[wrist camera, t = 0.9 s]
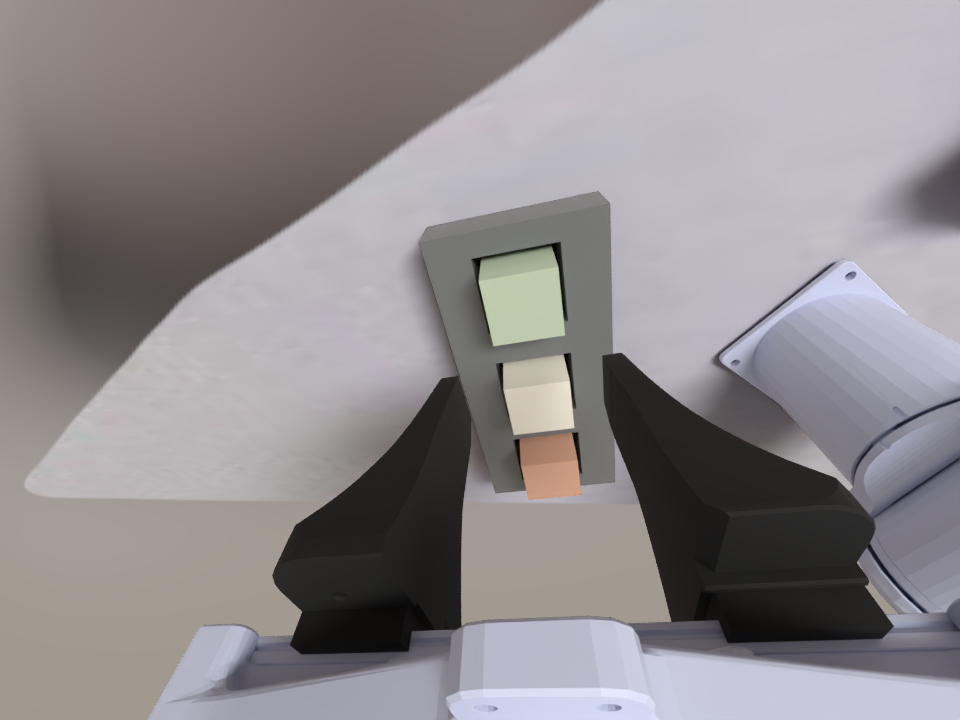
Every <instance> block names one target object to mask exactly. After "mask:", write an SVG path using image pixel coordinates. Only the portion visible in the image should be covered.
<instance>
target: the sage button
mask: <svg viewBox="0 0 960 720" xmlns="http://www.w3.org/2000/svg"><path fill="white" fill-rule="evenodd" d="M479 285H480V290H481V294H482V298H483V303H484V307H485V311H486V316H487V320H488V325H489V329H490V333H491V338H492V342H493V346H499V345H506V344H512V343H519V342H525V341H532V340H538V339H545V338H551V337H558V336H564V335H565V329H564V319H563V309H562V299H561V289H560V279H559V269H558V264H557V261H556V258H555V255H554V252H553V249H552V246H551V244H550V245H545V246H540V247H535V248H530V249H524V250H519V251H514V252H509V253H504V254H498V255H493V256H488V257H483V258H481V265H480V273H479Z"/></svg>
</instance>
